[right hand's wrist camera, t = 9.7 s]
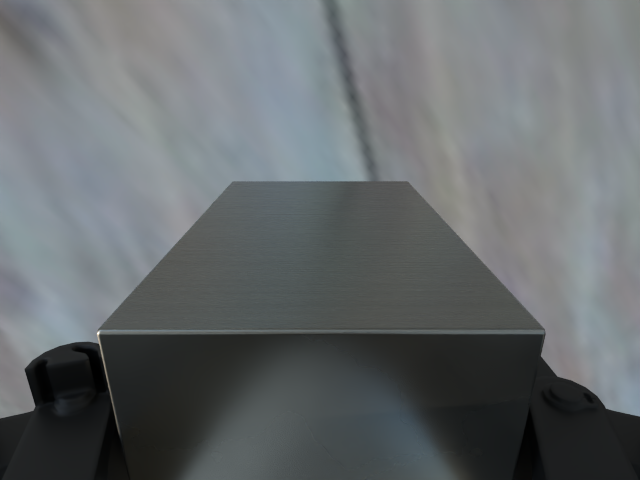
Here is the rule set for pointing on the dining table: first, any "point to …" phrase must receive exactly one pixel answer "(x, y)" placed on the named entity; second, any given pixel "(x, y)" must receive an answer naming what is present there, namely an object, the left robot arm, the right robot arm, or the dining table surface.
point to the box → (321, 345)
